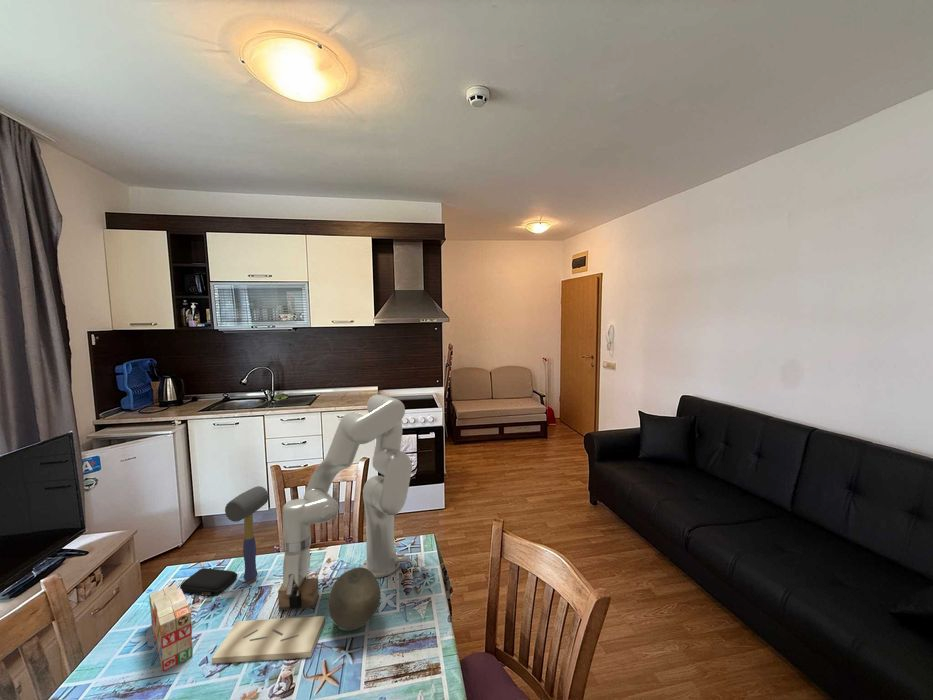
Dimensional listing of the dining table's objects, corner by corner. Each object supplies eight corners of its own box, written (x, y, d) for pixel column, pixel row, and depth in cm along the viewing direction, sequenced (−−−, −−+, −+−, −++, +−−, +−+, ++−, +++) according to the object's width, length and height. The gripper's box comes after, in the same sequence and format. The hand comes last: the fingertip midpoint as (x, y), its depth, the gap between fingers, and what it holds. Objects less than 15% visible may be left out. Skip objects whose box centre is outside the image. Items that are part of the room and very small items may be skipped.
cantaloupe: (324, 649, 99) (322, 593, 98) (334, 609, 113) (332, 560, 112) (379, 641, 101) (378, 587, 100) (382, 603, 115) (381, 555, 114)
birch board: (325, 621, 108) (324, 616, 108) (310, 657, 96) (310, 651, 96) (237, 626, 107) (237, 621, 107) (212, 663, 95) (211, 657, 95)
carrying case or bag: (173, 595, 120) (214, 600, 118) (173, 586, 120) (214, 591, 118) (202, 574, 131) (240, 578, 128) (201, 565, 130) (240, 569, 128)
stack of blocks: (150, 625, 108) (148, 583, 107) (178, 613, 112) (176, 573, 111) (162, 673, 93) (159, 624, 92) (193, 657, 97) (191, 610, 96)
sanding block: (318, 596, 119) (318, 577, 118) (313, 608, 114) (312, 588, 113) (285, 598, 118) (284, 579, 118) (278, 610, 113) (278, 590, 113)
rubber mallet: (247, 594, 120) (243, 501, 118) (226, 592, 121) (221, 499, 119) (273, 569, 132) (270, 484, 130) (254, 567, 133) (250, 483, 132)
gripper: (295, 528, 123) (297, 582, 124) (271, 560, 106) (274, 622, 107) (319, 527, 123) (320, 581, 124) (299, 558, 106) (301, 621, 107)
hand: (299, 599), depth 116 cm, fingers closed on sanding block, 5 cm apart
